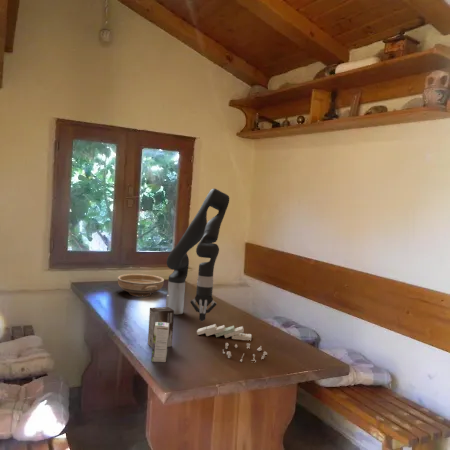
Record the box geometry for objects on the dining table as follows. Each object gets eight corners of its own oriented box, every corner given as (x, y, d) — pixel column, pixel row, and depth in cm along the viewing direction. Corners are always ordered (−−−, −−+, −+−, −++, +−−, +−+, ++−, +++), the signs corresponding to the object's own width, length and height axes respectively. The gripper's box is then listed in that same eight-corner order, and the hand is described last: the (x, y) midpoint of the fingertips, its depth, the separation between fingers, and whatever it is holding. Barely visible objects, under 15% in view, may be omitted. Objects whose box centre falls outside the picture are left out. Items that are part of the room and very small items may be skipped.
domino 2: (205, 333, 226) (223, 327, 226) (206, 330, 231) (224, 324, 231) (206, 336, 226) (224, 331, 226) (207, 333, 231) (225, 328, 231)
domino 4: (224, 334, 226) (242, 329, 225) (224, 331, 231) (242, 325, 230) (225, 338, 226) (243, 332, 225) (226, 334, 231) (243, 329, 230)
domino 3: (215, 334, 226) (233, 328, 225) (216, 331, 231) (233, 325, 230) (216, 337, 226) (234, 331, 225) (217, 334, 231) (235, 328, 230)
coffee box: (166, 342, 214) (169, 306, 212) (172, 346, 208) (174, 310, 207) (147, 343, 209) (149, 307, 208) (151, 348, 204) (154, 311, 203)
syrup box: (152, 356, 194) (154, 321, 193) (166, 357, 195) (169, 322, 194) (151, 361, 189) (153, 325, 188) (166, 362, 189) (169, 326, 188)
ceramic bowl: (174, 299, 292) (175, 283, 291) (130, 302, 276) (131, 285, 276) (148, 286, 323) (149, 271, 322) (107, 288, 307) (108, 273, 306)
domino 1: (196, 332, 227) (214, 326, 226) (198, 329, 232) (215, 323, 231) (197, 335, 227) (215, 329, 226) (199, 332, 232) (216, 327, 231)
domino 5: (232, 335, 226) (251, 337, 225) (232, 332, 231) (251, 334, 230) (231, 339, 226) (251, 340, 226) (232, 335, 231) (251, 337, 231)
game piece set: (233, 365, 193) (234, 356, 193) (214, 348, 212) (215, 339, 211) (275, 362, 201) (276, 353, 201) (254, 346, 219) (255, 337, 219)
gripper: (219, 284, 231) (216, 320, 232) (192, 282, 231) (189, 317, 233) (218, 287, 223) (215, 324, 224) (190, 285, 224) (187, 321, 225)
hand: (202, 320), depth 229 cm, fingers closed
